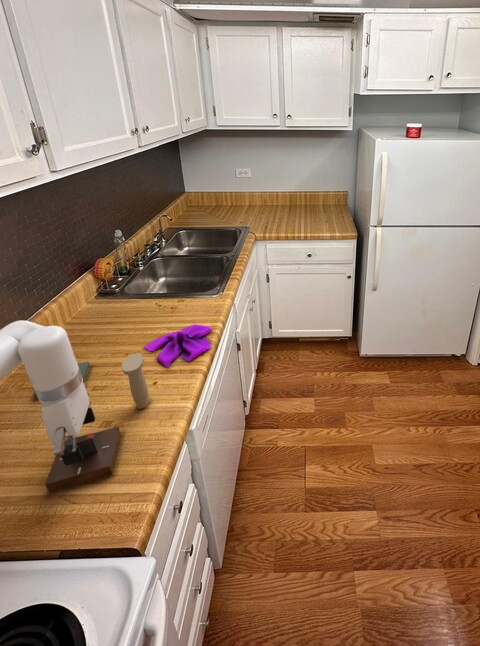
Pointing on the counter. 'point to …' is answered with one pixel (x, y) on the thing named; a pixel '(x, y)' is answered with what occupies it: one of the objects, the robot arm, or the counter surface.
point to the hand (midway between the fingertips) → (81, 441)
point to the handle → (136, 379)
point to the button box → (83, 370)
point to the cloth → (181, 344)
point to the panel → (86, 463)
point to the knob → (85, 444)
